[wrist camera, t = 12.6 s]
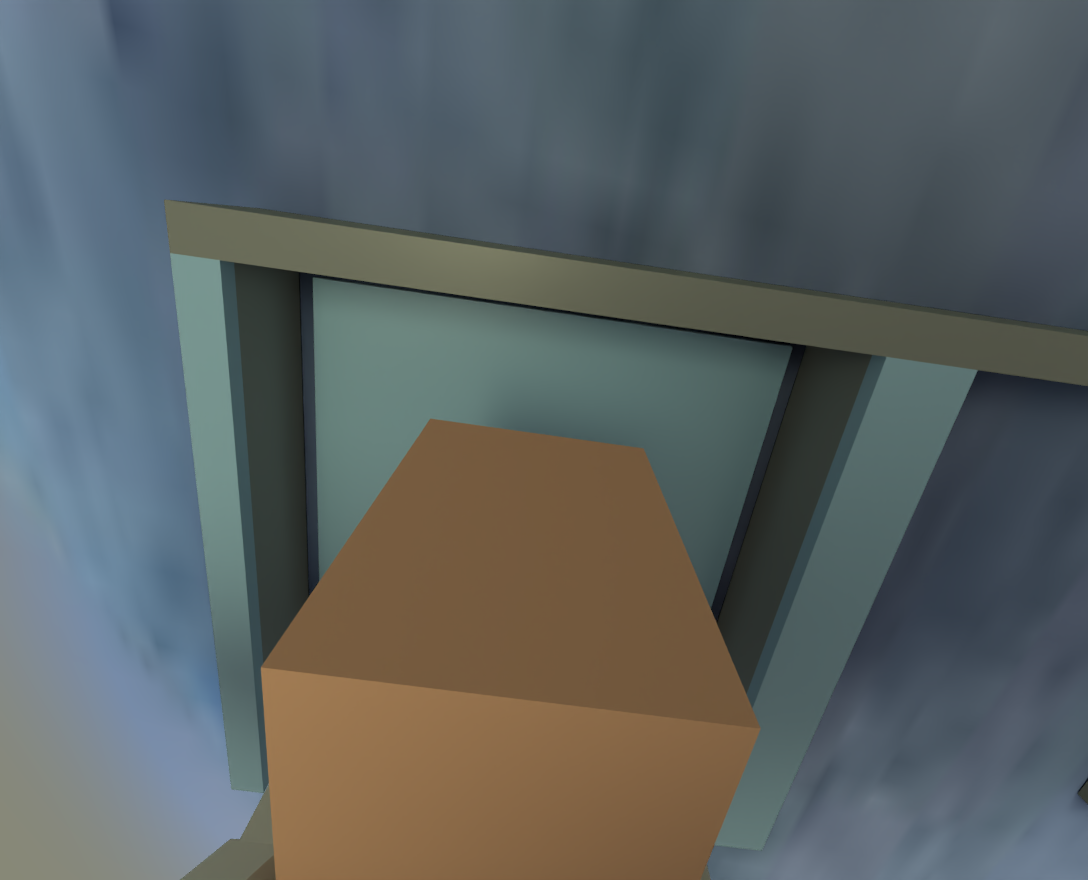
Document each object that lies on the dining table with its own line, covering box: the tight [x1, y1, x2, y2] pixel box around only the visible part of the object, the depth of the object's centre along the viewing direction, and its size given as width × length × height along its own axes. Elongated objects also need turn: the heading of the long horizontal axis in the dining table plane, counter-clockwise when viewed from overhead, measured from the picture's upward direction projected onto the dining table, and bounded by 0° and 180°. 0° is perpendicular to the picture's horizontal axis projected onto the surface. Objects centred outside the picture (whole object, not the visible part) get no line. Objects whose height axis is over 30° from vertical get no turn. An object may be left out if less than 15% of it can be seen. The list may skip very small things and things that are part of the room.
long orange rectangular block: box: [261, 419, 761, 880], centre depth 9 cm, size 4×12×6 cm, turn 172°
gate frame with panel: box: [164, 200, 1088, 851], centre depth 16 cm, size 32×17×4 cm, turn 82°
